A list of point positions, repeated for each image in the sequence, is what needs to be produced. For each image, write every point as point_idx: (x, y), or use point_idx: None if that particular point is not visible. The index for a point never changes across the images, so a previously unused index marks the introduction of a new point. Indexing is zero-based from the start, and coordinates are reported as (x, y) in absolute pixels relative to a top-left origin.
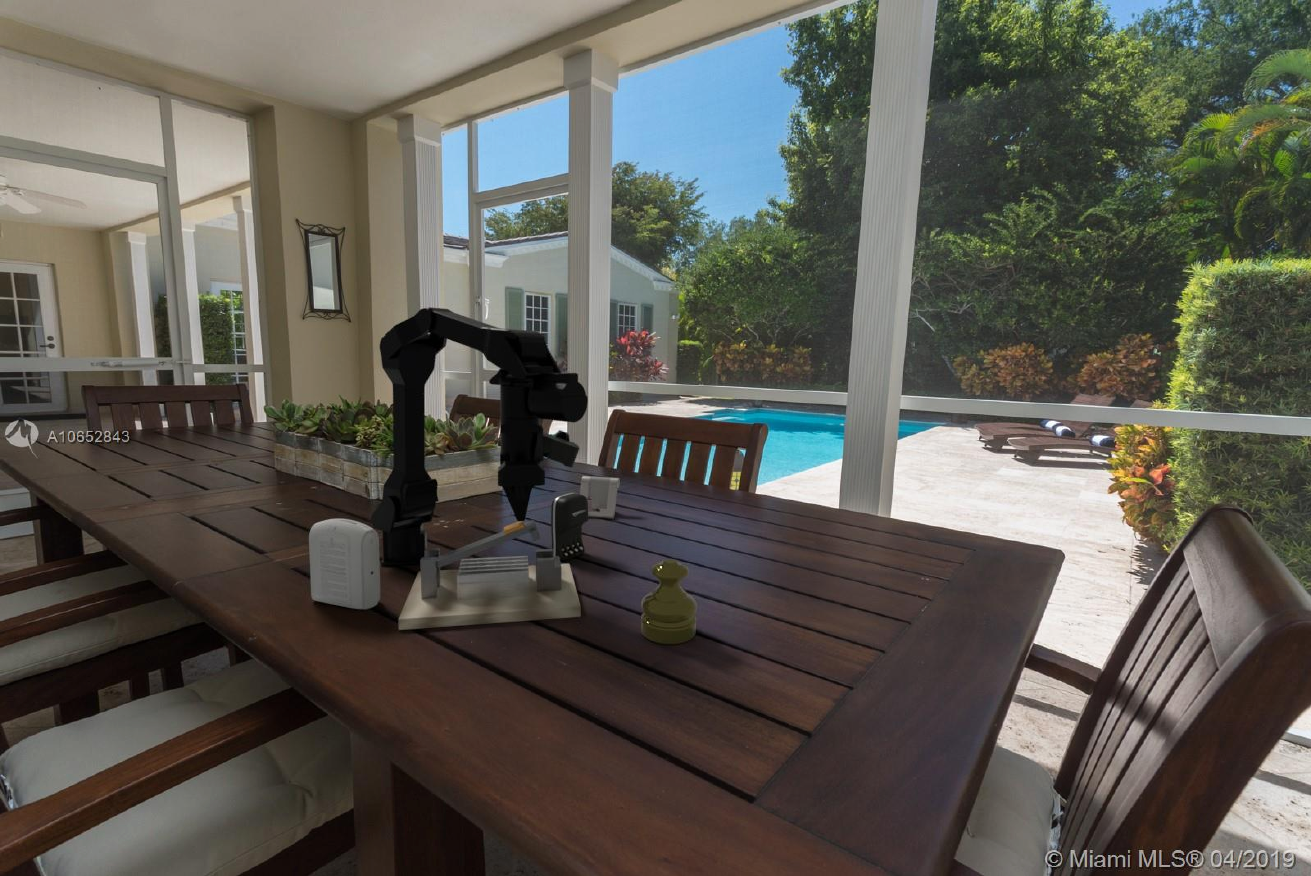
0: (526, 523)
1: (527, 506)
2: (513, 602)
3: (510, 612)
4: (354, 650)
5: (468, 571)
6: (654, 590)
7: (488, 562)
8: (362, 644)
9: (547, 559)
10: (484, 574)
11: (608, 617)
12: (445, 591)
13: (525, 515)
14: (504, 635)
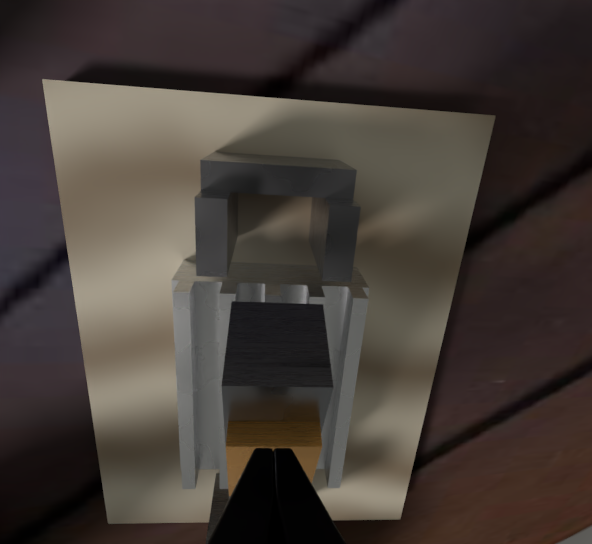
0: (252, 414)
1: (343, 540)
2: (390, 310)
3: (446, 318)
4: (448, 539)
5: None
6: None
7: None
8: (430, 534)
9: (348, 238)
10: (347, 426)
11: (517, 19)
12: None
13: (304, 475)
14: (500, 320)
